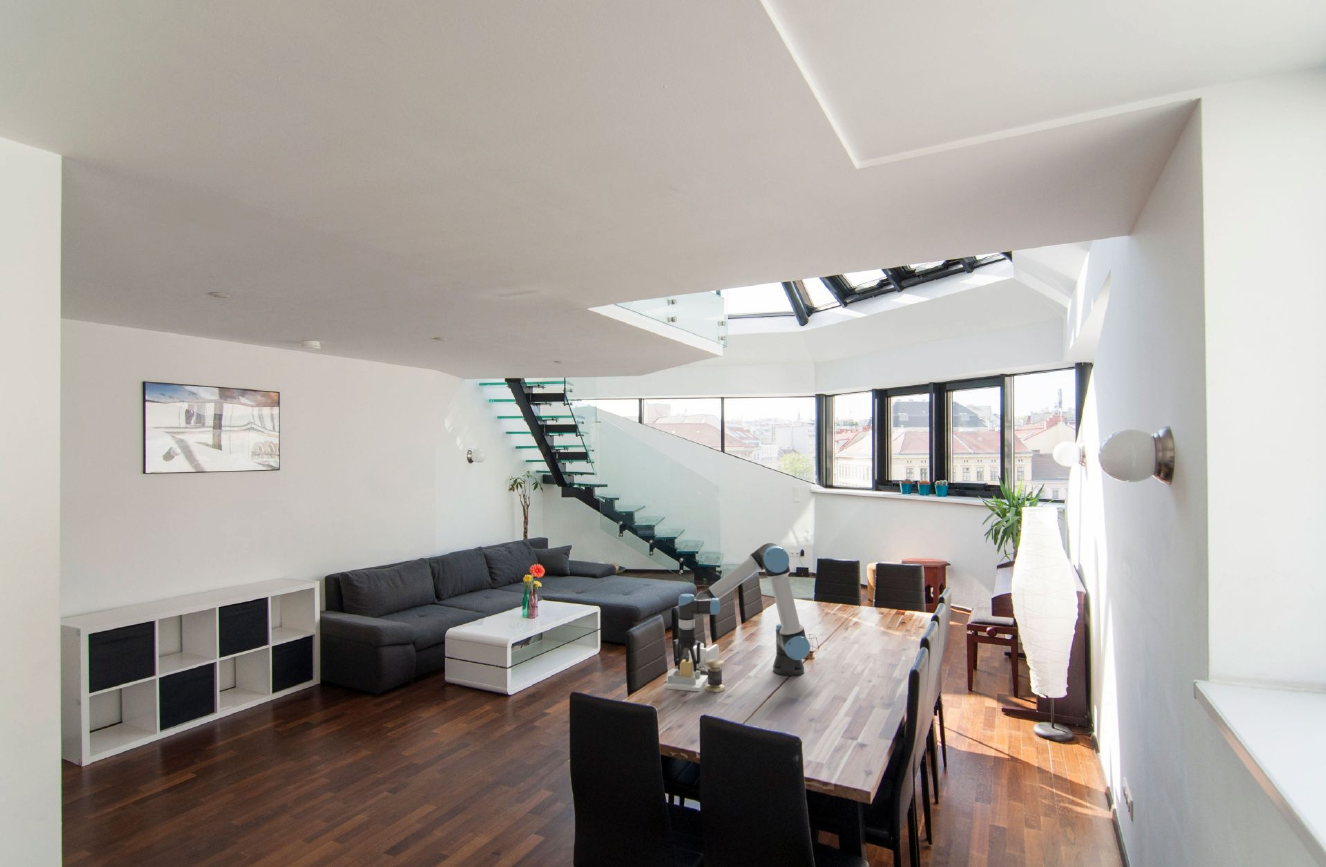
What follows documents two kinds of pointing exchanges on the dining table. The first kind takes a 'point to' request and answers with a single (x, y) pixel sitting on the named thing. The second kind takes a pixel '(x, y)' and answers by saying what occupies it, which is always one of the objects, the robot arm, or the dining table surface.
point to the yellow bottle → (686, 667)
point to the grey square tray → (686, 681)
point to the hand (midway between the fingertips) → (687, 677)
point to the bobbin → (714, 676)
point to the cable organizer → (706, 655)
